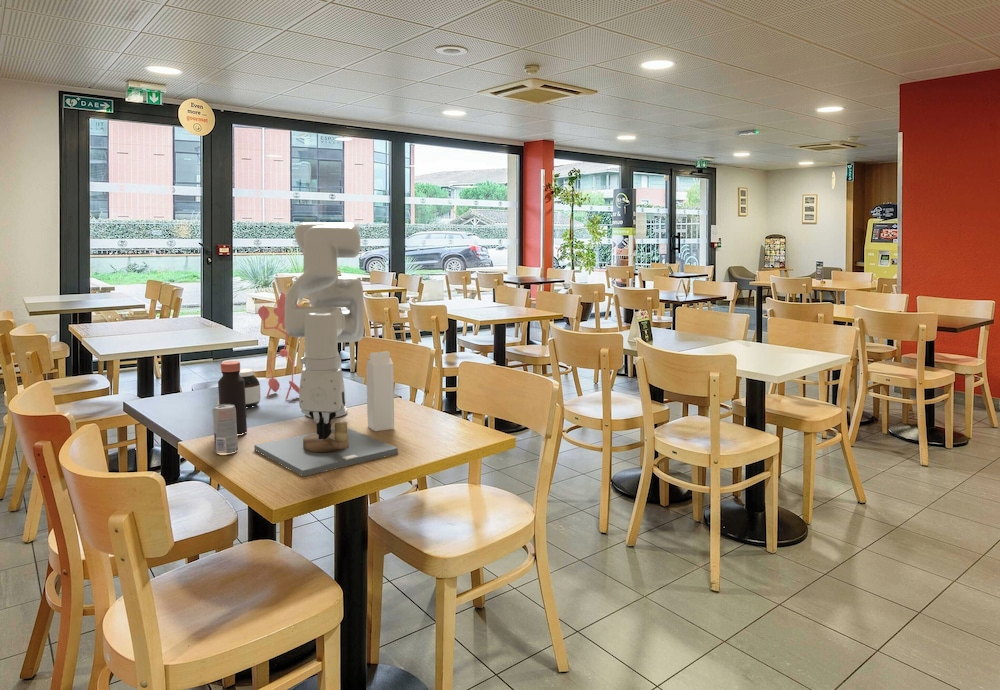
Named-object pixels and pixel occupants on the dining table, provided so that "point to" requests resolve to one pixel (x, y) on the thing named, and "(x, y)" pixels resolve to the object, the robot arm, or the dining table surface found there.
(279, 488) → the dining table surface
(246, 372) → the spread jar
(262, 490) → the dining table surface
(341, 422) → the dial
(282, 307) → the pink flower figure
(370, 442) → the base plate
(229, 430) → the energy drink
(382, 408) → the milk
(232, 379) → the bottle
